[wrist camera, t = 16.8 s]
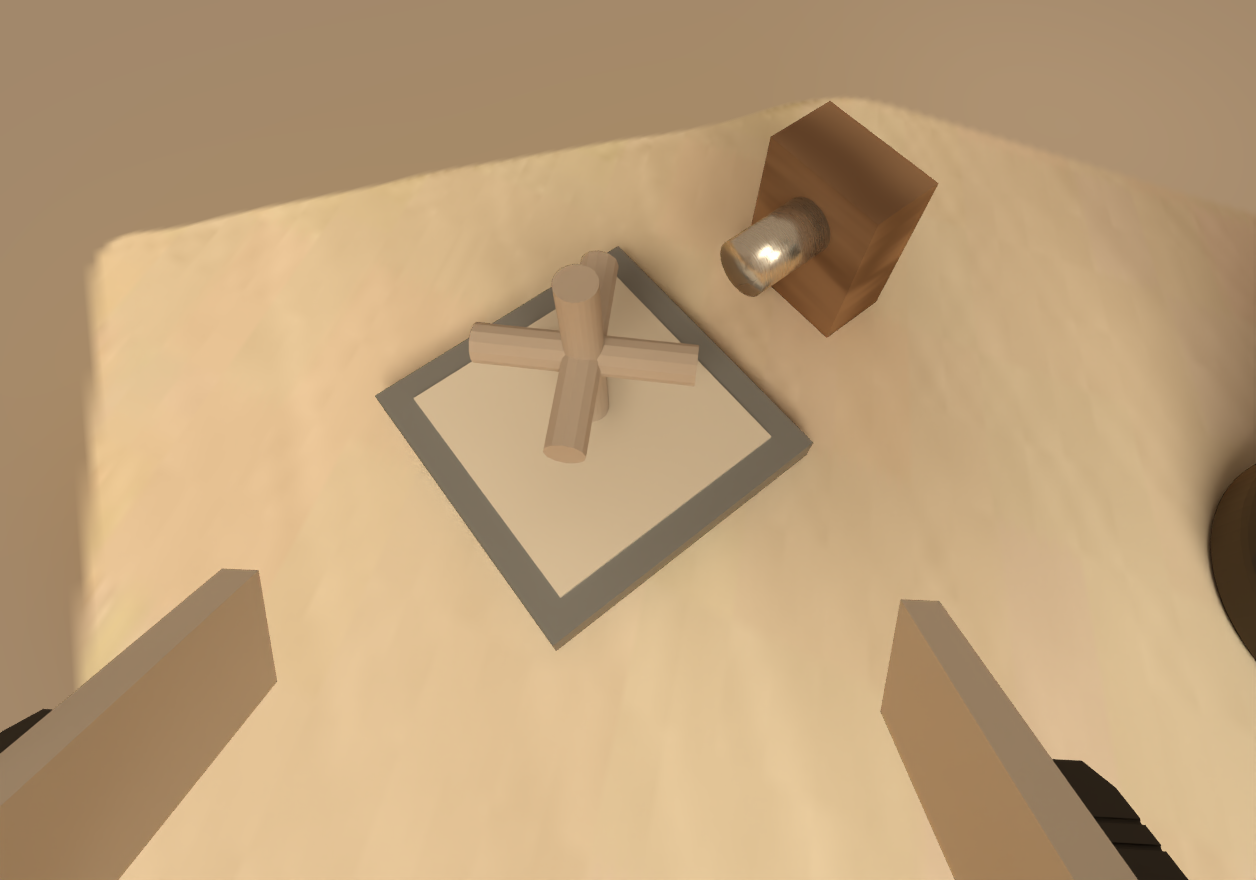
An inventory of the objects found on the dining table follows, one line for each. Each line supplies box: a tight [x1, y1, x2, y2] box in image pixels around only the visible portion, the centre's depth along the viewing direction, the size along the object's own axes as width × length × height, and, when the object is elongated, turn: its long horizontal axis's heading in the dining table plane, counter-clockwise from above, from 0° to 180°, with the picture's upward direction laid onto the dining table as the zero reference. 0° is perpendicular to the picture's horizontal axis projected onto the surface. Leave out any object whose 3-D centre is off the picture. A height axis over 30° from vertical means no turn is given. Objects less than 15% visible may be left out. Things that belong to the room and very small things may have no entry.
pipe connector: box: [469, 251, 699, 463], centre depth 31 cm, size 10×10×10 cm
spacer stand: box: [375, 101, 938, 651], centre depth 34 cm, size 26×16×9 cm, turn 128°
